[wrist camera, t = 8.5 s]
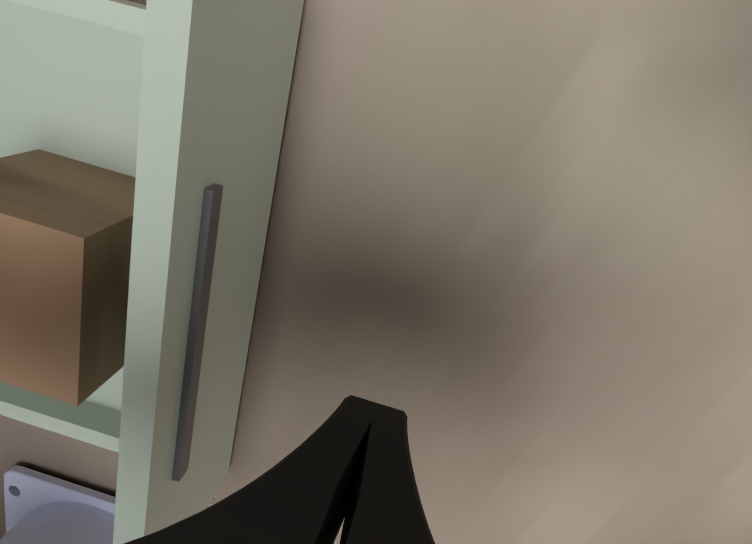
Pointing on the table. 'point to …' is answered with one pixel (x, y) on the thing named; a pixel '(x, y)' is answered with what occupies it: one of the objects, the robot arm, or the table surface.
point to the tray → (161, 215)
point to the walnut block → (63, 273)
